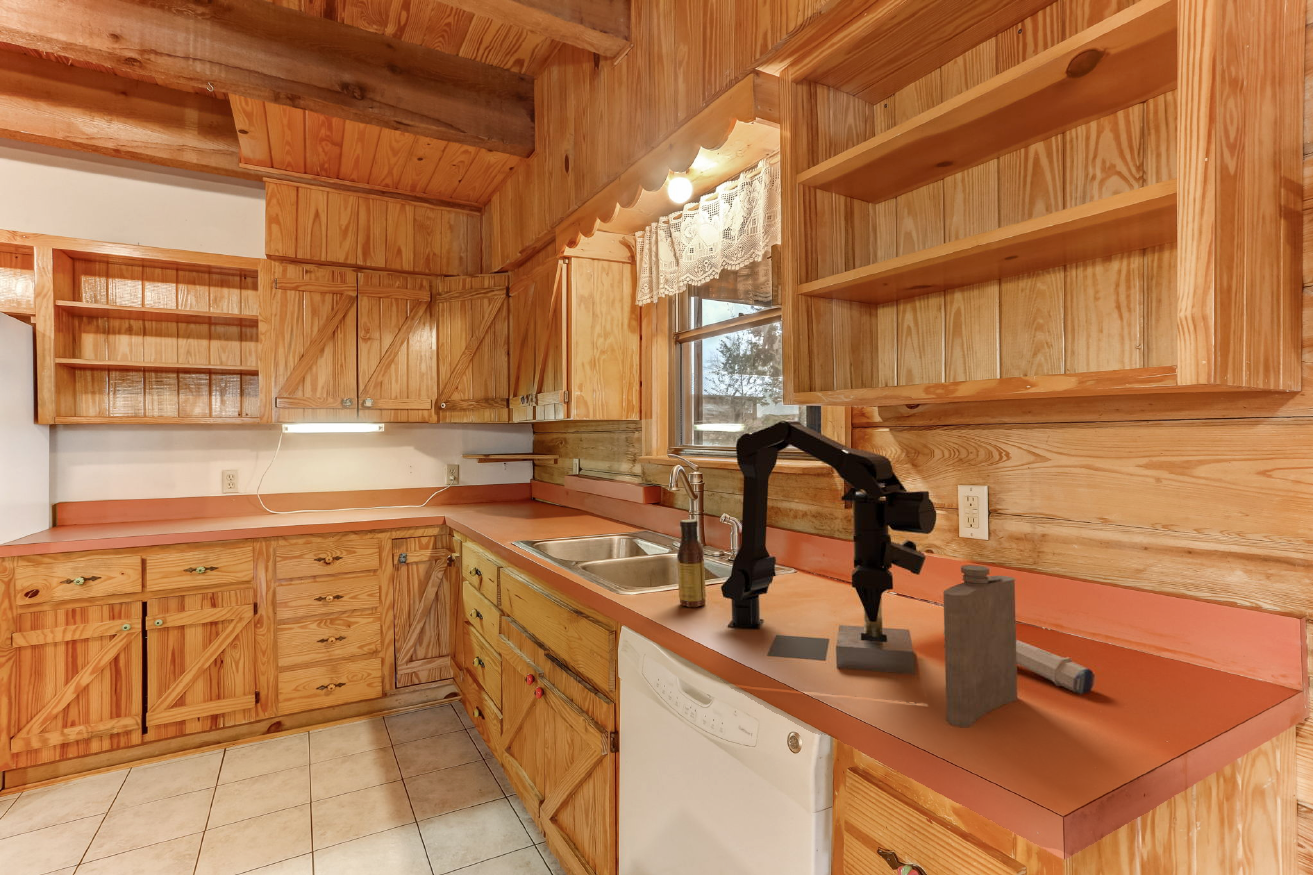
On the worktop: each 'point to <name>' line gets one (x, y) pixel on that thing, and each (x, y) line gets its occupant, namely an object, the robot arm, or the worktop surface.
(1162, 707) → the worktop surface
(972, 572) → the hip flask
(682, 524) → the sauce bottle
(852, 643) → the block
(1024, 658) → the flashlight
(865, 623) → the pin
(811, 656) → the mat
